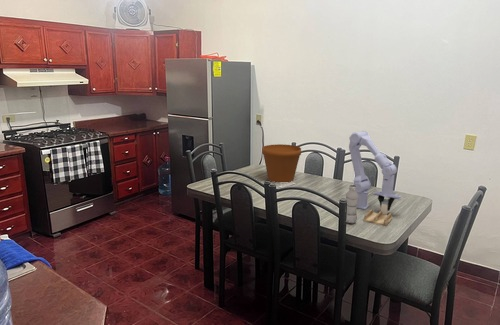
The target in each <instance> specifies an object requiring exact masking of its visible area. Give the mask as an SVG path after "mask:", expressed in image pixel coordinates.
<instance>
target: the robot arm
mask: <svg viewBox="0 0 500 325" xmlns="http://www.w3.org/2000/svg"><path fill="white" fill-rule="evenodd" d="M362 146H363V147H364V146H365V147H366V148H367V149H368V150H369V152H370V153H371V154H372V155H373V156H374V161H375V163H377V165H378V166H379V167H380V169H381V174H382V185H381V191H379V190H378V191H376V190H374V191H373V192H372V195H373V196H377V199H378V202H379V204H380V207H381V205H382V201H383V200H384V199H385V198H387V199H388V211H389V212H390V210H391V207H392V204H393V203H394V201H395V200H398V201H401V198H402V195H399V194H395V193H394V183H395V174H396V173H398V172H397V171H398V167H397V166H396V164H394V163H392V162H391V161H390V160H389V158H387V155H386V154H384V153H383V152H380V150H379V149H378V148H377V146H376V145H375V143H374V141H373V140H372V137H371V136H370V134H369V133H368V132H367V131H364V130H362V131H357V132H352V134H351V135H349V144H348V150H349V154H350V157H351V163H352V168H353V172H354V175H355V176H354V179H353V181H352V182H353V185H355V186H357V190H356V191H357V193H358V195H359V198H358V202H357V209H363V210H366V209H368V207H369V206H370V204H368V199H369V198H368V197H369V190H370V189H371V188H372V183H371V181H370V179H369V177H368V176H367V175H366V174H365V168H364V164H363V160H362V155H361V150H360V148H361V147H362Z"/></svg>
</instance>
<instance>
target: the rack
mask: <svg viewBox="0 0 500 325" xmlns="http://www.w3.org/2000/svg"><path fill="white" fill-rule="evenodd" d="M392 215H393V214H392V212H389V213H388V214H387V215H383V214H382V211H381V210H379V212H378V213H377V212H374V209H373V208H371V209H369V211H368V212H366V214H364V218H363V219H362V221H363V222H365V223H369V224H370V223H371V224H374V225H379V226H383V227H387V226H388V225H389V224H390V222H391V221H392V219H393V216H392Z"/></svg>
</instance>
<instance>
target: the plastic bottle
mask: <svg viewBox="0 0 500 325" xmlns="http://www.w3.org/2000/svg"><path fill="white" fill-rule="evenodd" d="M356 190H357V186H355V185H354V184H350V185H349V188H348V191H347V192H346V194H345V200H347V202H348V204H347V222H346V223H347V224H355V223H356V222H357V220H358V215H357V210H358V208H357V202H358V198H359V195H358V193H357V191H356Z"/></svg>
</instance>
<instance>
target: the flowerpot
mask: <svg viewBox="0 0 500 325" xmlns="http://www.w3.org/2000/svg"><path fill="white" fill-rule="evenodd" d="M261 148H262V151H261V152H262V155H263V160H264V164H265V165H264V166H265V169H266V174H267V179H268V181H269V180H271V181H270V182H272V181H275V182H274V183H276V182H288V183H291V181H292V182H293V181H294V179H295V174H296V172H297V167H298V164H299V160H300V156H302V147H300V146H298V145H293V144H292V145H291V144H279V143H278V144H268V145H264V146H262V147H261Z"/></svg>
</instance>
